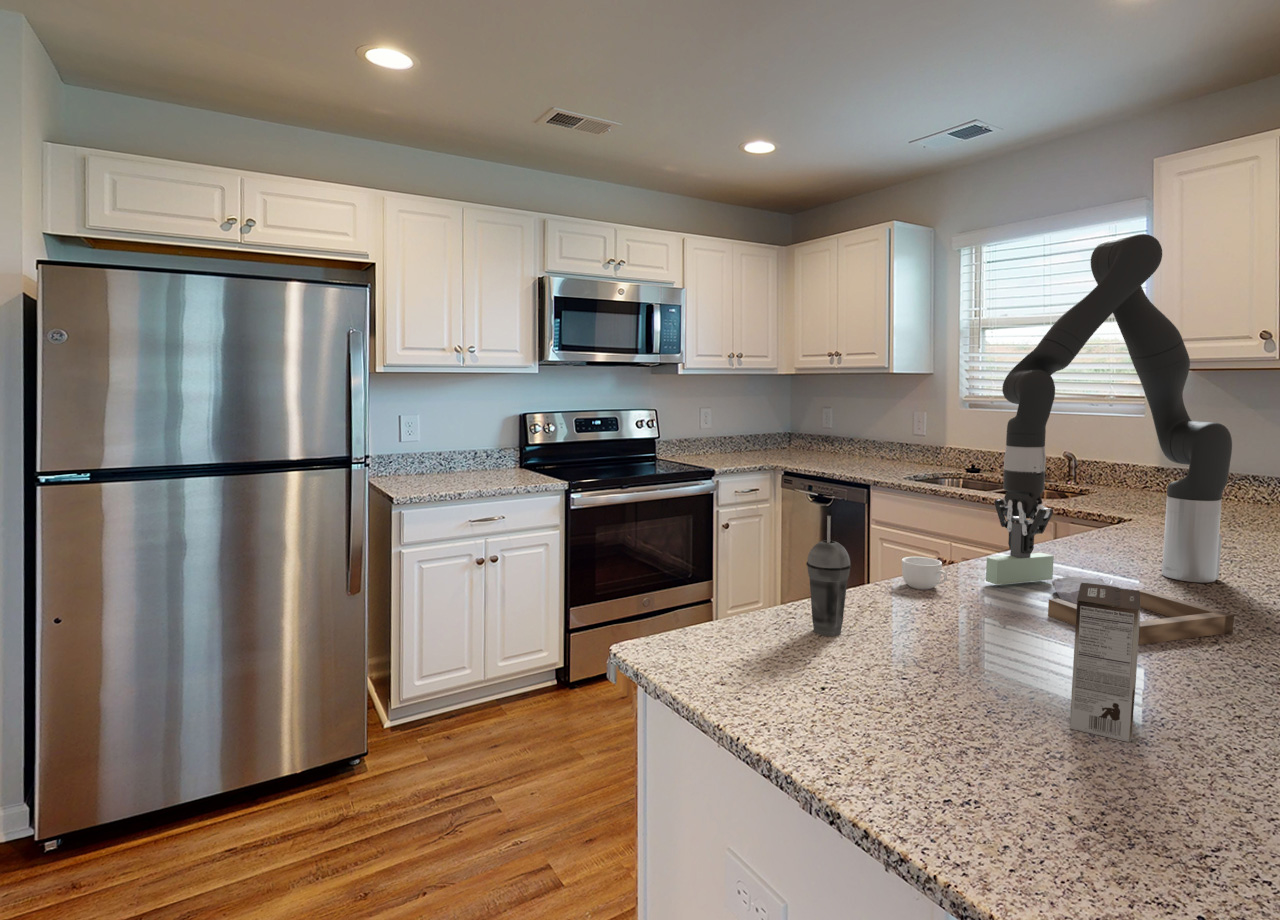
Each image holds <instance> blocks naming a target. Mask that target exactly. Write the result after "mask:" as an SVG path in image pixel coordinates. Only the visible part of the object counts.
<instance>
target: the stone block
mask: <svg viewBox="0 0 1280 920" xmlns="http://www.w3.org/2000/svg"><path fill="white" fill-rule="evenodd" d="M1051 583H1052V584H1051V585H1052V586H1053V588H1054V590H1055V592H1056V594H1057V595H1058V597H1059V599H1061V600H1064V601H1067V602H1070V603H1073V604H1076V605H1077V598H1078V594H1079V588H1080V584H1081V583H1091V584H1099V585H1107V586H1113V587H1118V588H1120V587H1119V586H1117V585H1114V584H1107V583H1106V582H1105V580H1104V579H1103V578H1102V577H1100V578H1099V577H1098V578H1091V577H1082V576H1075V575H1074V576H1064V577H1061V578H1060V577H1058V578H1055V579H1052V582H1051Z"/></svg>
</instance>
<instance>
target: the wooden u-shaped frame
mask: <svg viewBox="0 0 1280 920" xmlns="http://www.w3.org/2000/svg"><path fill="white" fill-rule="evenodd" d="M1138 590H1139V592H1140V609H1144V610H1147V611H1150V612H1152V613H1153V612H1154V613H1157V614H1161V615H1163V616H1166V617H1164V618H1158V619H1157V618H1156V619H1155V618H1154V619H1148V620H1140V624H1139V641H1138V646H1142V645H1148V644H1156V643H1165V642H1172V641H1178V640H1179V641H1180V640H1185V639H1186V640H1187V639H1194V638H1202V637H1208V636H1215V635H1223V634H1231V633H1234V625H1235V623H1234V622H1235V614H1233V613H1229V612H1226V611H1223V610H1222V611H1221V610H1219V609H1215V608H1211V607H1207V606H1204V605H1201V604H1197V603H1195V602H1190V601H1186V600H1183V599H1181V598H1180V599H1179V598H1176V597H1173V596H1169V595H1165V594H1163V593H1158V592H1154V591H1152V590H1147V589H1144V588H1142V589H1138ZM1047 610H1048V611H1047V616H1048V617H1050V618H1053V619H1056V620H1058V621H1061V622H1064V623H1065V624H1069V625H1072V626H1075V627H1076V612H1077V605H1076V604H1073V603H1070V602H1067V601H1064V600H1061V599H1060V598H1050V599H1048V608H1047Z"/></svg>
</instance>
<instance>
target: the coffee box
mask: <svg viewBox="0 0 1280 920" xmlns="http://www.w3.org/2000/svg"><path fill="white" fill-rule="evenodd" d="M1118 587H1119V586H1117V587H1113V586H1107V585H1099V584H1091V583H1081V584H1080V588H1079V594H1078V598H1077V612H1076V626H1075V630H1074V646H1073V647H1074V649H1073V666H1072V680H1071V681H1072V683H1071V701H1070V702H1071V703H1070V717H1069V718H1070V719H1069V720H1070V722H1069V728H1070V730H1074V731H1078V732H1083V733H1087V734H1091V735H1096V736H1100V737H1105V738H1109V739H1113V740H1118V741H1122V742H1126V743H1130V742H1131V741H1132V732H1133V722H1134V721H1133V720H1134V712H1135V711H1134V710H1135V709H1134V708H1135V697H1136V685H1137V670H1138V667H1137V666H1138V656H1139V655H1138V654H1139V653H1138V651H1139V645H1138V641H1139V624H1140V621H1141V620H1140V619H1141V608H1140V592H1139V590H1140V589H1131V588H1121V587H1119V588H1118Z"/></svg>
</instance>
